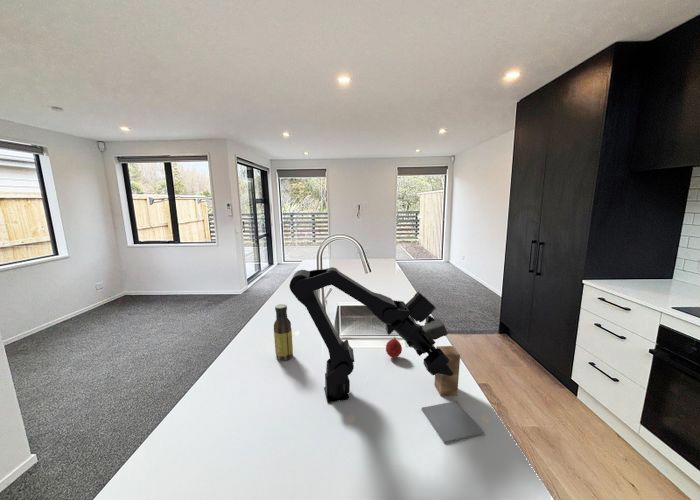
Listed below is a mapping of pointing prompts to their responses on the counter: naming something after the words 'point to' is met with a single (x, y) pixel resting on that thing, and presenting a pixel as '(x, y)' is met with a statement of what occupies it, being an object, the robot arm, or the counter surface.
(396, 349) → the onion
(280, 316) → the sauce bottle
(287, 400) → the counter surface
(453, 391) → the block
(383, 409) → the counter surface
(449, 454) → the counter surface
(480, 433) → the coaster
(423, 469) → the counter surface
